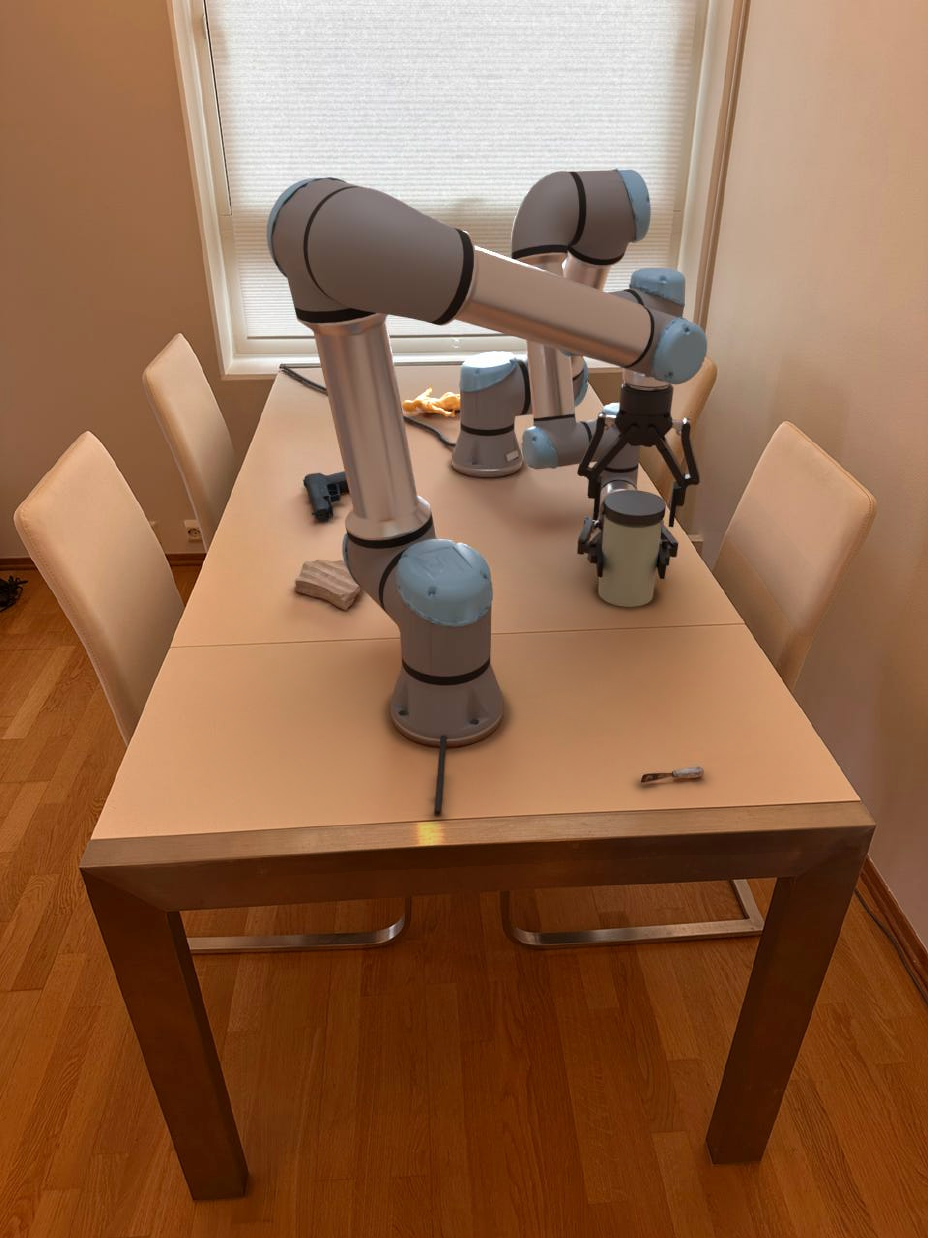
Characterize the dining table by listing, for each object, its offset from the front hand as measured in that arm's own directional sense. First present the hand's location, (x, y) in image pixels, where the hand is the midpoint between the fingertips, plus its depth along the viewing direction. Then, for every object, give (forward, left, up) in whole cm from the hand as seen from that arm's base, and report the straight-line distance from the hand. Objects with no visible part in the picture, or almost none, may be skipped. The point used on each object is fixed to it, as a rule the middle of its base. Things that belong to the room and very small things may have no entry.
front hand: (633, 520), depth 141 cm
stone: (-9, +48, -13) cm, 50 cm away
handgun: (+25, +59, -13) cm, 65 cm away
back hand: (-4, -1, -7) cm, 8 cm away
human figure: (+83, +49, -13) cm, 98 cm away
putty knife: (-45, -8, -13) cm, 47 cm away
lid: (0, 0, +3) cm, 3 cm away
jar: (0, 0, -13) cm, 13 cm away
